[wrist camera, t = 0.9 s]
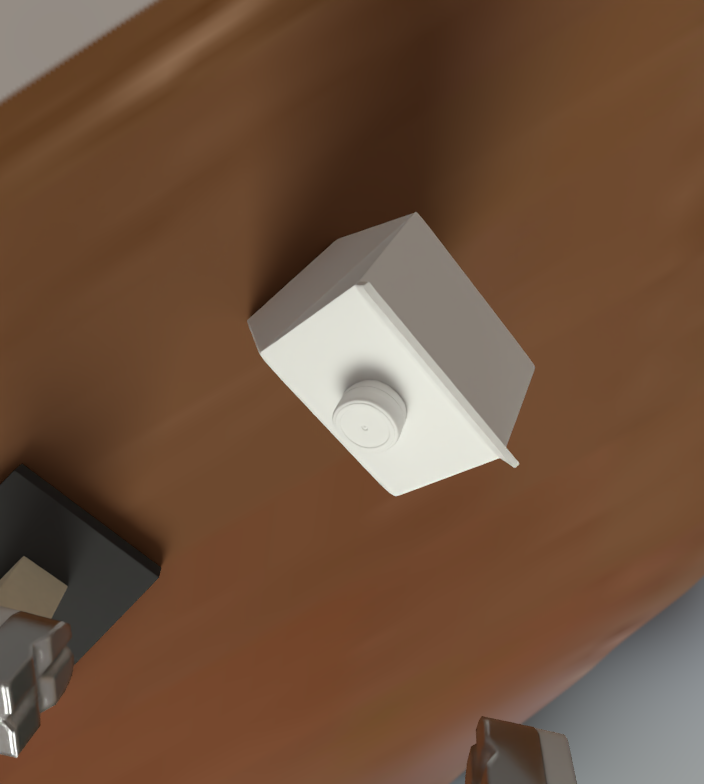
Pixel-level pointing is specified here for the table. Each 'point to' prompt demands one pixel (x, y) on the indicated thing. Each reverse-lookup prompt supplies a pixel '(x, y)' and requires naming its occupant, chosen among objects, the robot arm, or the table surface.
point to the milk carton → (397, 355)
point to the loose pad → (65, 561)
